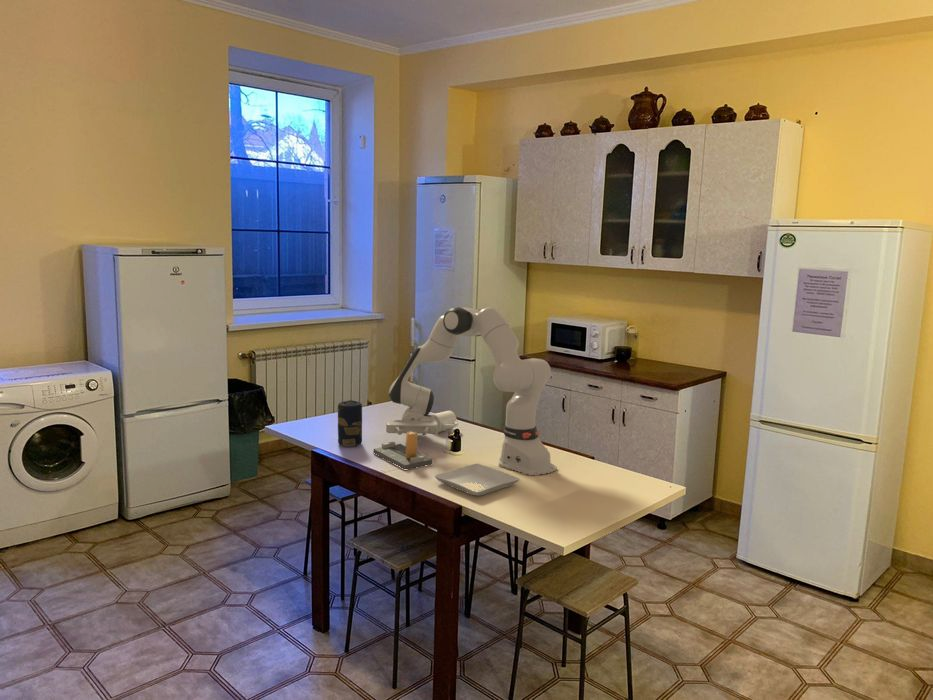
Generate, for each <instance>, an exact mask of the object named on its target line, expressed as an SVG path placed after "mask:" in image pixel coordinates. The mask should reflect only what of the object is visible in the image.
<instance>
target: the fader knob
mask: <svg viewBox="0 0 933 700" xmlns="http://www.w3.org/2000/svg"><path fill="white" fill-rule="evenodd" d="M405 436H406V439H405V446H406V458H408V459H410V458H413V457H417V452H418V434H417V433H416V432H407V433H405Z"/></svg>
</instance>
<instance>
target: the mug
mask: <svg viewBox="0 0 933 700" xmlns="http://www.w3.org/2000/svg"><path fill="white" fill-rule="evenodd" d="M431 415H432V416H434V419H435V420H436V421H437V423H438V433H442V432H445V431H449V429H450V430H452V429H455V428H456V427H458V425H459V423H458V419H457V415H456V414H455V412H453V411H452V410H445V411H441V412H437V413H432V414H431Z"/></svg>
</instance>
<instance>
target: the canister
mask: <svg viewBox="0 0 933 700" xmlns="http://www.w3.org/2000/svg"><path fill="white" fill-rule="evenodd" d="M337 437H338V439H337V442H338V444H339V445H340V446H342V445H343V446H342V447H347V446H352V447H357V446H360V445H361V444H362V442H363V405H362V403H361V402H360V401H357V400H352V399H350V400H344V401H341V402H339V403H338V404H337Z"/></svg>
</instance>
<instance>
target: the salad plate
mask: <svg viewBox="0 0 933 700" xmlns="http://www.w3.org/2000/svg"><path fill="white" fill-rule="evenodd" d="M434 477H435V479H436V480H437V481H439V482H440V483H443V484H444V485H447V486H449V485H450V486H449V487H451V486H453V487H452V488H454V487H455V488H454V489H456V488H458V489H460V490H459V491H461V490H463V491H465V492H464V493H466V492H468V493H470V494H469V495H471V494H472V496H475V495H477V496H476V497H478V496H479V495H480V496H483V495H482V494H484V495H486V494H485V493H487V494H490V493H493V492H495V490H496V491H498V489H499V490H502V489H504V487H505V488H507V487H511V486H513V485H515V484H517V483H518V482H519V481H520V478H519V477H517V476H515V475H511V474H508V473H506V472H504V471H502V470H497V469H495V468H493V467H489V466H486V465H485V464H484V465H483V464H480V463H473V464H469V465H466V466H463V467H459V468H455V469H451V470H447V471H444V472H441V473H437V474H435V475H434ZM467 482H468V483H471V482H472V483H473V484H474V483H475V482H476V483H477V484H481V485H482V486H483V487H484V488H485V489H481V490H479V489H478V492H476V491H475V489H474V491H472V490H471V489H468V488H466V487H464V486H462V485H460V483H461V484H463V483H467ZM476 483H475V484H476ZM484 485H485V486H484ZM486 486H487V487H486ZM479 487H480V486H479ZM480 488H481V487H480ZM501 488H502V489H501ZM458 489H457V490H458ZM463 491H462V492H463ZM492 491H493V492H492ZM489 492H490V493H489ZM468 493H467V494H468ZM480 496H479V497H480Z"/></svg>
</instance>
